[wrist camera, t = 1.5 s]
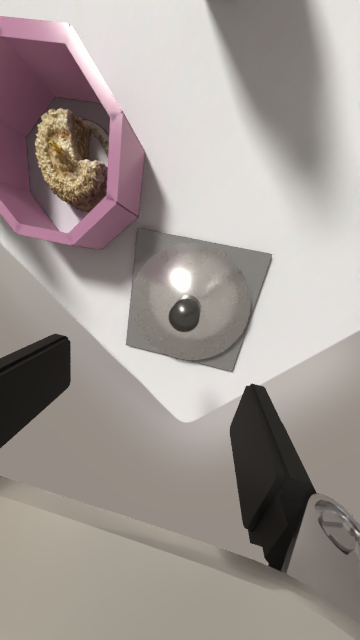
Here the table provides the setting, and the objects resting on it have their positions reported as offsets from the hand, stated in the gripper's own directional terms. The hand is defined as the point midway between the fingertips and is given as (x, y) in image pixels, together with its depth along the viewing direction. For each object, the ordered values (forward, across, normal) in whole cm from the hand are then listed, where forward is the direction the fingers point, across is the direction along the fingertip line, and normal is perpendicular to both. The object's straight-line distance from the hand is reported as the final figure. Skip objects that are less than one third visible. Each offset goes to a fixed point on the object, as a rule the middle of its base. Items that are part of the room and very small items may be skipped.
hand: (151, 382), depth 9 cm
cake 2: (+19, +17, -15) cm, 30 cm away
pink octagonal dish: (+19, +18, -14) cm, 29 cm away
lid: (+18, 0, 0) cm, 18 cm away
